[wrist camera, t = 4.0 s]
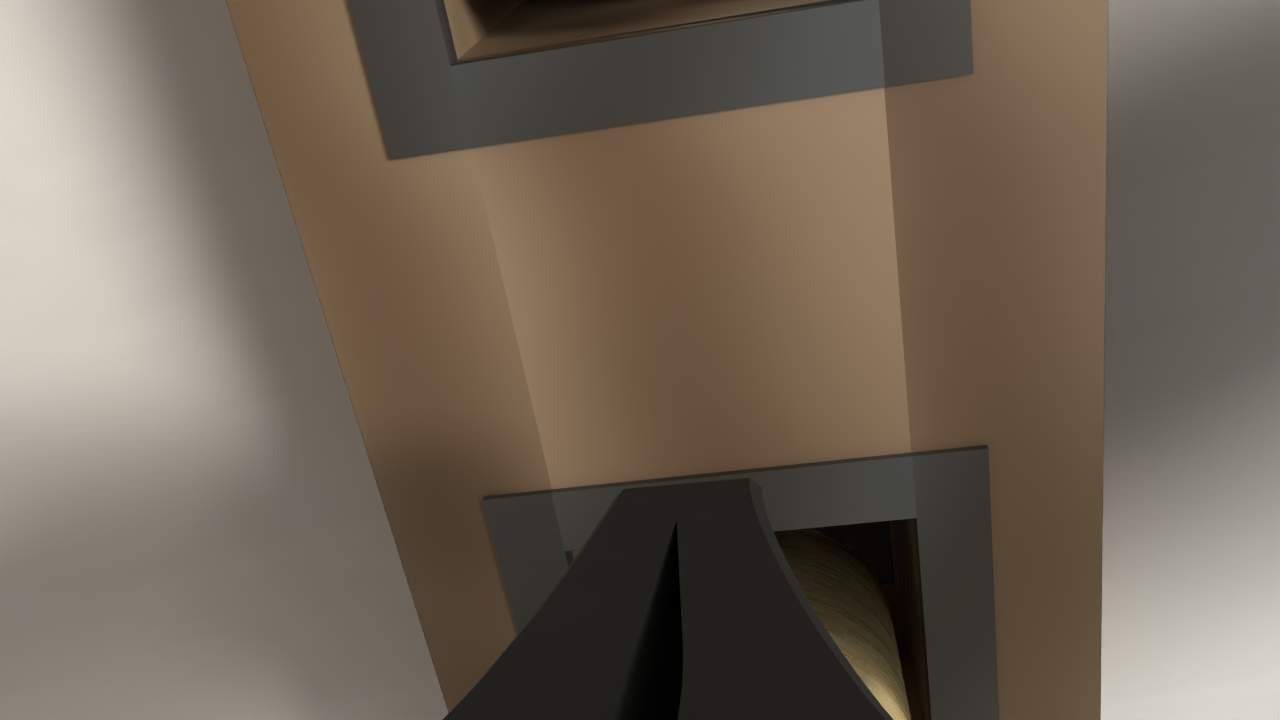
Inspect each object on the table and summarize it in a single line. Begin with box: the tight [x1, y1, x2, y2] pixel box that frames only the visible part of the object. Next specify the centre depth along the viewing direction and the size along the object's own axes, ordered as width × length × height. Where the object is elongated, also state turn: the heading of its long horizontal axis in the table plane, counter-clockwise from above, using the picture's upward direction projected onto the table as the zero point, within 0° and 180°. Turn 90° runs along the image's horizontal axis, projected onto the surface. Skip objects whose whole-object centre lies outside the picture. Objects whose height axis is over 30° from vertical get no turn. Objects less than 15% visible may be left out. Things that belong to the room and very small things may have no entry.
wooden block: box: [226, 0, 1108, 720], centre depth 17 cm, size 10×24×5 cm, turn 9°
